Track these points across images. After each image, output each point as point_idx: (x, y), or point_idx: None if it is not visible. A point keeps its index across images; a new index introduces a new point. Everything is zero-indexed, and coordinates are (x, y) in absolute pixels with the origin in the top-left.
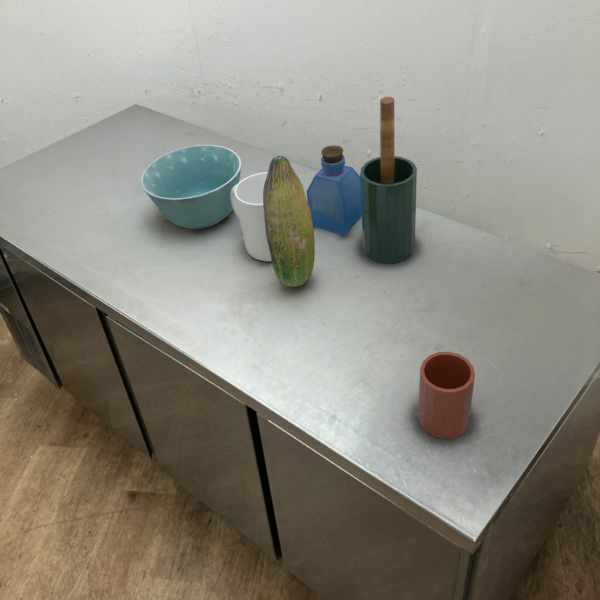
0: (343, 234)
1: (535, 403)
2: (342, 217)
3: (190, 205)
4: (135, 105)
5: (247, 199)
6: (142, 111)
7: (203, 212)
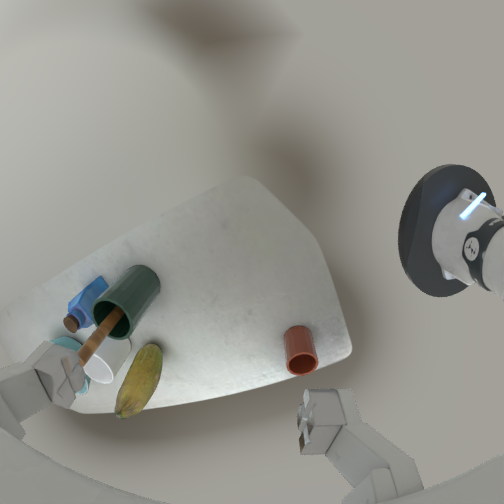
0: None
1: (320, 291)
2: None
3: (89, 381)
4: None
5: (91, 361)
6: None
7: None
